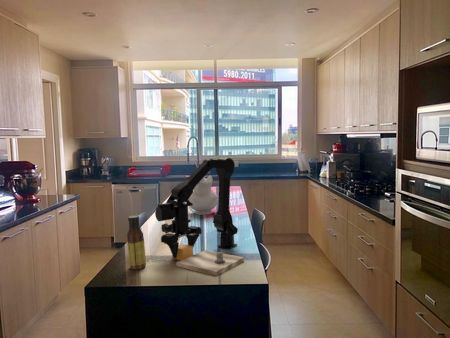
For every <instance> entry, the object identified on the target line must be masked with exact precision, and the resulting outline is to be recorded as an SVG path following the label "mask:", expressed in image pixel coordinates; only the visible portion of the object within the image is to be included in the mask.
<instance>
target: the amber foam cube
mask: <svg viewBox="0 0 450 338" xmlns="http://www.w3.org/2000/svg"><path fill="white" fill-rule="evenodd" d="M193 255H194V247H193V246H190V245H188V244H183V243H181V244H180V243H179V246H178V252H177V257H176V258H174V257H173V255H172V254H171V257H172V259H174V260H178V261H181V260H183V259H186V258H188V257H190V256H193Z"/></svg>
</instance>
